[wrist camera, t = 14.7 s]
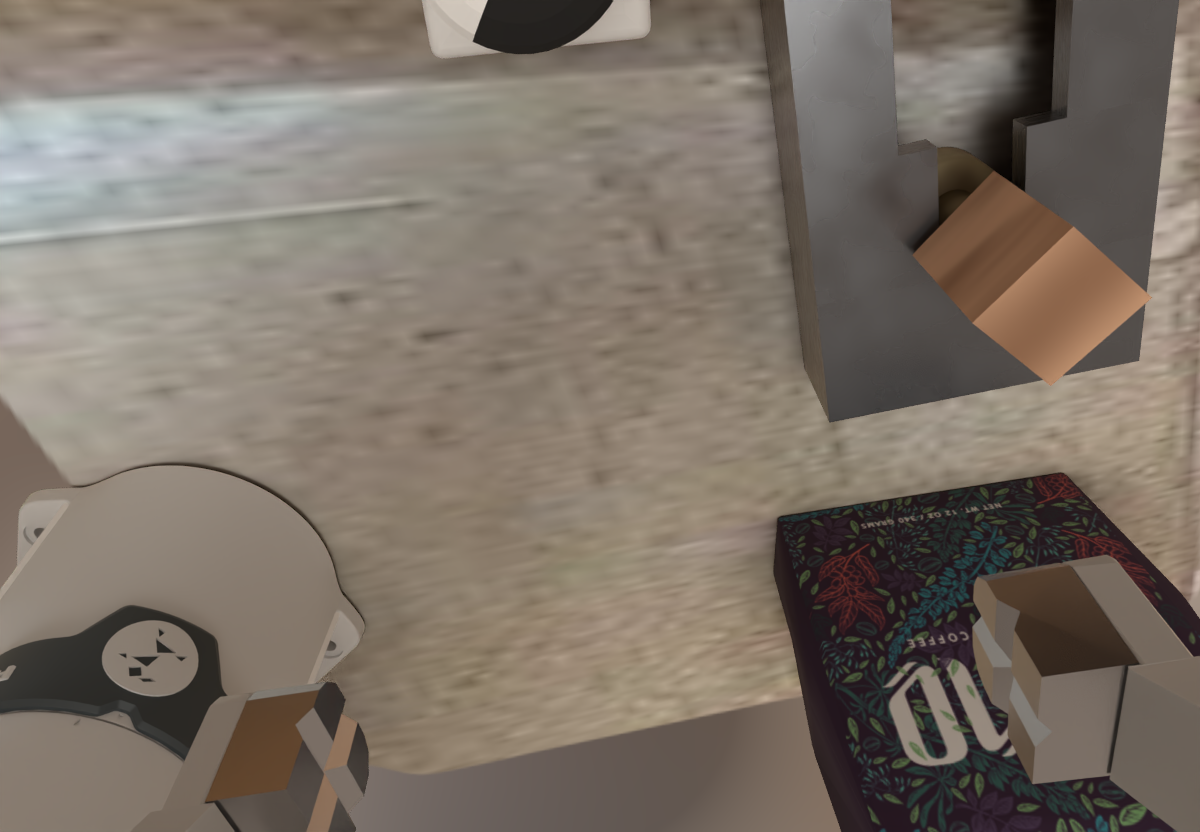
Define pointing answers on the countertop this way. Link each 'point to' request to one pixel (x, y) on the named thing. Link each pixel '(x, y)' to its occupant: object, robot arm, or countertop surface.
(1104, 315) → the slider
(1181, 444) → the countertop surface
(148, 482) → the robot arm
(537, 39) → the medicine bottle
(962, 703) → the decorative box
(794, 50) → the keyhole plate
